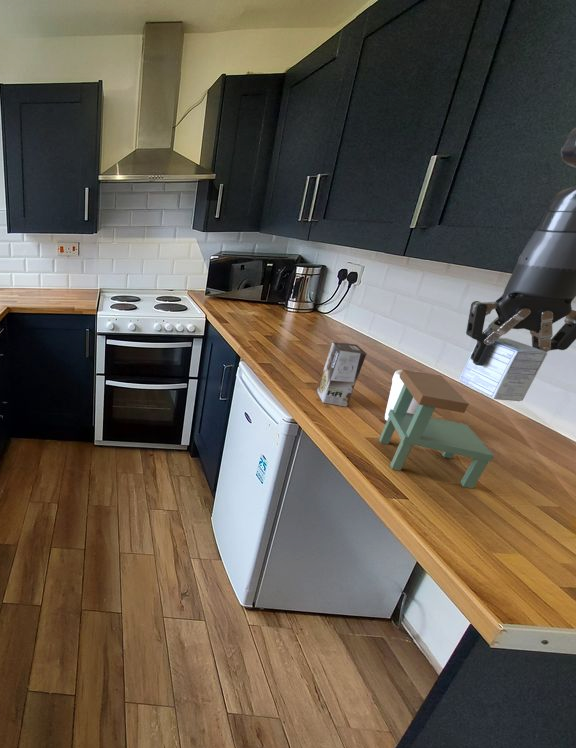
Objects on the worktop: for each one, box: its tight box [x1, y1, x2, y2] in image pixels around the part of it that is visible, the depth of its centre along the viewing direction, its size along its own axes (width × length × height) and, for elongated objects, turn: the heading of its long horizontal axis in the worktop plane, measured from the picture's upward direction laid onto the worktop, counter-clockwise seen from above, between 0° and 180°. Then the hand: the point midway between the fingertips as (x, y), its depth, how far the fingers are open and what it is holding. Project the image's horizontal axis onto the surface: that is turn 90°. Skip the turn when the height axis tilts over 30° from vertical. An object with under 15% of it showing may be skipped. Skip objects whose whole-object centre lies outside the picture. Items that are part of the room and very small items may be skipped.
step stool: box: [378, 369, 495, 490], centre depth 86 cm, size 14×16×18 cm
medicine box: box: [458, 336, 548, 402], centre depth 67 cm, size 8×4×9 cm, turn 171°
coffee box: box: [316, 341, 367, 408], centre depth 115 cm, size 9×6×16 cm
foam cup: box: [384, 369, 419, 422], centre depth 104 cm, size 10×9×13 cm
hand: (500, 367), depth 67 cm, fingers closed on medicine box, 5 cm apart
